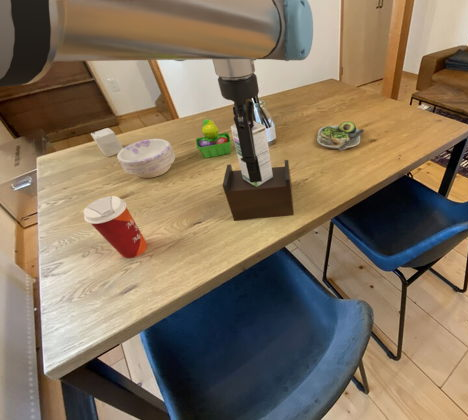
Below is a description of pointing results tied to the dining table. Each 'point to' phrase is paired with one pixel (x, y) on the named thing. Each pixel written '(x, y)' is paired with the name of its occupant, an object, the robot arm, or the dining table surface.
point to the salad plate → (339, 136)
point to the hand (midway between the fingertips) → (257, 170)
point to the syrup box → (260, 151)
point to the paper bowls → (147, 158)
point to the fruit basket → (213, 141)
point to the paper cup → (116, 225)
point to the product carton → (107, 142)
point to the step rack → (259, 194)
